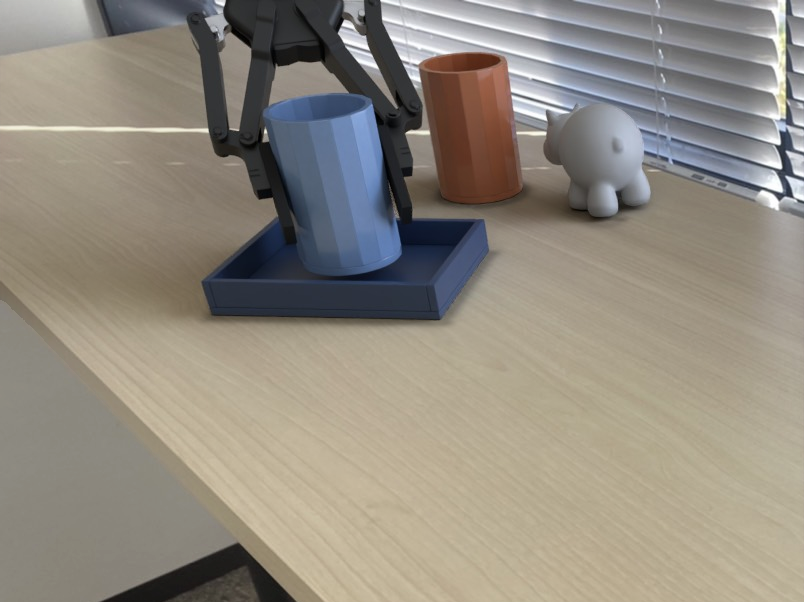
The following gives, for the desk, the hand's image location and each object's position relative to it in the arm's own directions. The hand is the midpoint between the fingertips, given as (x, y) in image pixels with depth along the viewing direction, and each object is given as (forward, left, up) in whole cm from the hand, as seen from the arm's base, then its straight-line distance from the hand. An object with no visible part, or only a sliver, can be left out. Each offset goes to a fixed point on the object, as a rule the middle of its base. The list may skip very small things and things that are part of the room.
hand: (349, 225), depth 83 cm
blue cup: (-2, +3, -4) cm, 5 cm away
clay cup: (+2, +24, -5) cm, 25 cm away
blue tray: (-2, +3, -5) cm, 6 cm away
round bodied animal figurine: (+13, +22, -6) cm, 26 cm away
